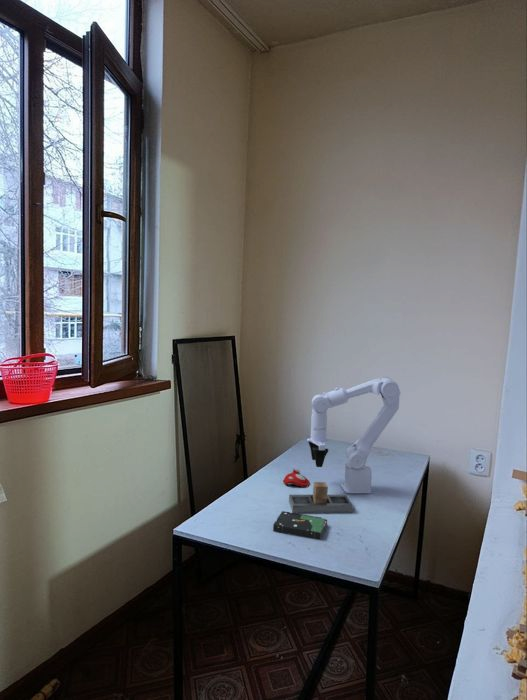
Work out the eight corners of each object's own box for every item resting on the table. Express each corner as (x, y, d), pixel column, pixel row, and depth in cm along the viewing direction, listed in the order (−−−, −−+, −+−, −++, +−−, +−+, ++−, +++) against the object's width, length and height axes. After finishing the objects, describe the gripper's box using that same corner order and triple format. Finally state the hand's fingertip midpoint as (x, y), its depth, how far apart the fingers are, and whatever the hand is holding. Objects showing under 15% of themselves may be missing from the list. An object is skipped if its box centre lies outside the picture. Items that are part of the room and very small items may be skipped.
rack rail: (345, 501, 170) (345, 494, 169) (352, 512, 161) (352, 505, 161) (288, 501, 168) (289, 494, 168) (292, 513, 159) (293, 505, 159)
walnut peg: (324, 504, 167) (325, 482, 166) (326, 509, 163) (327, 486, 162) (312, 504, 166) (313, 482, 165) (314, 509, 162) (316, 486, 161)
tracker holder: (315, 483, 183) (293, 481, 178) (311, 493, 184) (289, 492, 179) (299, 465, 194) (278, 463, 188) (295, 475, 195) (273, 473, 189)
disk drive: (272, 533, 146) (321, 541, 142) (272, 524, 146) (321, 532, 141) (281, 518, 156) (327, 526, 152) (281, 510, 156) (327, 517, 151)
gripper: (304, 422, 186) (303, 456, 187) (311, 432, 171) (310, 470, 173) (322, 422, 186) (321, 456, 188) (331, 433, 172) (329, 470, 173)
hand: (317, 463), depth 180 cm, fingers open, 7 cm apart
